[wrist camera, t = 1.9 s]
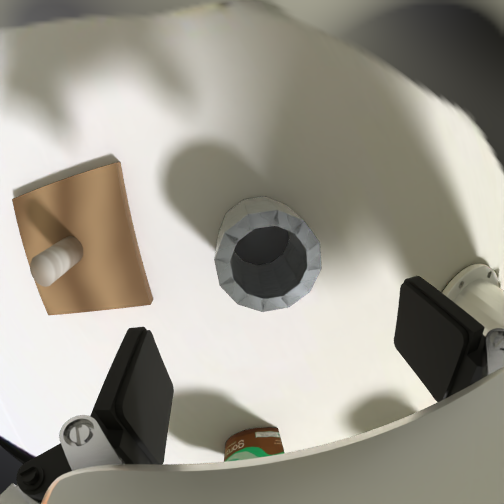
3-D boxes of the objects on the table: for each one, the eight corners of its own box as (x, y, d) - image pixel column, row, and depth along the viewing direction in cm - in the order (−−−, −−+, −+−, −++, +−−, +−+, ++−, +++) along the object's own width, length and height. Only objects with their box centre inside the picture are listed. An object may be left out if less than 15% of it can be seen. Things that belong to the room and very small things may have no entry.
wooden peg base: (120, 162, 20) (86, 165, 15) (153, 299, 24) (134, 337, 18) (18, 197, 20) (-23, 210, 14) (52, 310, 24) (24, 342, 18)
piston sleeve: (294, 192, 22) (316, 204, 16) (302, 267, 24) (323, 300, 18) (213, 204, 22) (207, 220, 16) (227, 279, 24) (226, 317, 18)
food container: (236, 412, 30) (240, 484, 20) (283, 421, 31) (297, 488, 21) (204, 457, 33) (202, 515, 23) (244, 464, 34) (248, 519, 24)
